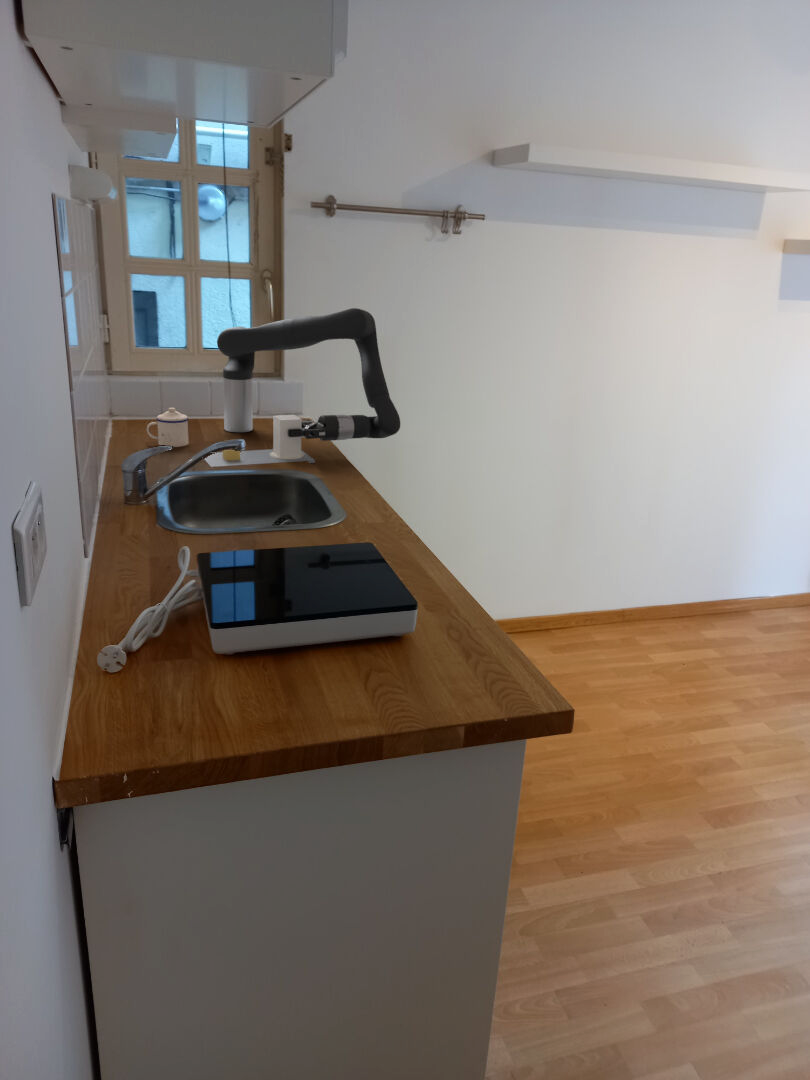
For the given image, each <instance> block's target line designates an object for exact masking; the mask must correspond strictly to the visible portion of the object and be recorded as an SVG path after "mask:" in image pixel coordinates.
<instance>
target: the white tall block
mask: <svg viewBox="0 0 810 1080" xmlns="http://www.w3.org/2000/svg"><path fill="white" fill-rule="evenodd" d="M302 420H303V419H302V418H300V417H299V416H297V415H295V414H285V415H284V414H280V415H273V419H272V421H273V424H272V429H273V434H272V436H273V438H272V439H273V440H272V441H273V442H272V443H273V445H272V449H273V453H275V454H276V455H277V456H278V457H280V458H285V457H301V450H302V437H289V436H288V430H289V429H301V426H302Z"/></svg>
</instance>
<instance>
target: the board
mask: <svg viewBox="0 0 810 1080" xmlns="http://www.w3.org/2000/svg"><path fill="white" fill-rule="evenodd" d="M240 451H241V452H240V460H227V461H226V460H225V459H224V458H223V451H219V452H218V451H217V453H216V452H214V453H215V454H212V455H210V456H208V457H207V458H205V459H203V460H204V462H206V463H207V464H208V466H210V468H214V467H215V468H216V467H217V468H218V467H229V466H232V467H233V466H246V465H247V466H248V465H262V464H263V465H264V464H278V463H279V464H280V463H292V462H293V463H294V462H297V463H298V462H308V463H309V464H310V463H315V464H316V459H314V458H313V457H311V456H310V455H309V454H308V453H306V452H305V451H303V450H302V449H301V457H285V458H280V457H278V456H277V455H276V454H275V453H273V448H271V449H254V450H252V449H251V450H240Z"/></svg>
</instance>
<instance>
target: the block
mask: <svg viewBox="0 0 810 1080" xmlns="http://www.w3.org/2000/svg"><path fill="white" fill-rule="evenodd" d="M240 451H241V450H240ZM240 451H235V450H224V451H222V452H223V458H224V459H225V460H226V461H227V460H240Z"/></svg>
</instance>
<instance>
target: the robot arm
mask: <svg viewBox="0 0 810 1080" xmlns="http://www.w3.org/2000/svg"><path fill="white" fill-rule="evenodd" d="M376 327H377V326H376V321H375V318H374V316H373V315H372V314H371V313H370V312H369V311H366V310H364V309H361V308H357V307H353V308H348V309H345V310H344V309H343V310H341V311H337V312H334V313H330V314H326V315H324V314H323V315H316V316H315V315H313V316H312V315H310V316H303V317H302V316H301V317H292V318H288V319H281V320H278V321H273V322H269V323H265V324H262V325H260V326H254V327H244V326H235V327H228V328H225V329H224V330H223V331H221V332H220V334H219V335H218V336H217V340H216V345H217V348H218V350H219V352H220V353H221V354H223V355H224V356H226V357H228V361H227V362H226V365H225V367H224V368H223V370H222V377H223V380H222V381H223V383H222V386H223V423H224V430H225V431H226V432H231V433H247V432H251V431H253V372H254V369H255V359H256V358H255V356H256V355H255V353H256V352H263V351H264V352H265V351H268V352H271V351H273V352H274V351H288V350H296V349H298V350H299V349H305V348H308V347H312V346H314V345H317V344H319V343H322V342H324V341H331V340H353V341H354V342H355V344H356V345H355V346H356V347H357V349H358V353H359V357H360V363H361V381H362V386H363V389H364V393H365V397H366V400H367V404H368V406H369V407H370V408H372V409H374V411H375V413H376V416H375V415H374V416H367V415H364V414H351V415H350V414H326V415H325V414H323V415H320V416H319V417H318V419H317V422H314V420H311V419H302V426H301V429H289V430H288V436H289V437H301V438H305V440H311V439H312V440H313V439H320V440H321V441H323V442H331V441H332V442H333V441H344V440H346V441H347V440H349V439H364V438H366V439H385V438H386V439H387V438H388V437H391V436H394V435H397V433H398V432H399V431H400V429H401V418H400V415H399V412H398V410H397V408H396V405H395V404H394V403H393V401H392V399H391V396H390V393H389V389H388V385H387V382H386V377H385V375H384V371H383V366H382V362H381V356H380V352H379V351H380V350H379V345H378V344H379V343H378V334H377V328H376Z"/></svg>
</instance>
